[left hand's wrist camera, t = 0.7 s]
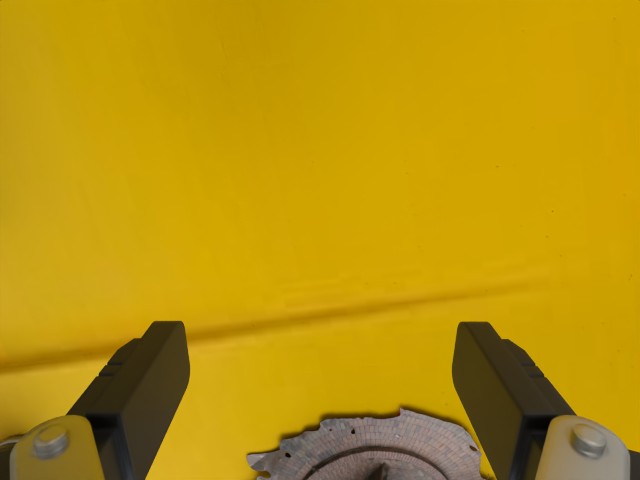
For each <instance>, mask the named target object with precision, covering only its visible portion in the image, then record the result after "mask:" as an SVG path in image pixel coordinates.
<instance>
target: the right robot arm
mask: <svg viewBox="0 0 640 480" xmlns="http://www.w3.org/2000/svg"><path fill="white" fill-rule="evenodd" d="M22 437H23V436H13V437H9V438H7V439H5V440H3V441H1V442H0V452H2V451H6V450H10V449H13V448H14V446H15V444H16V443H17V442H18V441H19V440H20V439H21V438H22Z"/></svg>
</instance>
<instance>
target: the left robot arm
mask: <svg viewBox="0 0 640 480" xmlns="http://www.w3.org/2000/svg"><path fill="white" fill-rule="evenodd" d="M189 377H190V363H189V355H188V348H187V341H186V334H185V327H184V324H183V322H182V321H154V322H153V323H152V324H151V325H150V327H149V328H148V330H147V331H146V332H145V334H144V335H143V336H142V338H134V339H133V340H131V341H130V342H128V343H127V344H125V345H124V346H122V347H121V348H120V349H118V350H117V351H116V353H115V354H114V355H113V356H112V358H111V359H110V360H109V361H108V364H107V365H105V366H104V368H103V369H102V370H101V371H100V373H99V376H96V378H95V379H94V380H93V381H92V383H91V384H90V385H89V386H88V388H87V389H86V390H85V391H84V393H83V394H82V395H81V397H80V398H79V399H78V400H77V402H76V403H75V404H74V405H73V407H72V408H71V409H70V410H69V412H68V413H67V414H66V415H65V416H60V417H56V418H53V419H51V420H48V421H46V422H44V423H42V424H40V425H38V426H36V427H35V428H33V429H31V430H30V431H29V432H27V433H26V434H25V435H24V436H23V437H22V438H21V439H20V440H19V441H18V442H17V443H16V444H15V446H14V448H13V449H10V450H6V451H2V452H0V480H145V478H146V476H147V474H148V472H149V469H150V467H151V465H152V463H153V461H154V459H155V456H156V454H157V452H158V450H159V448H160V445H161V443H162V441H163V439H164V437H165V434H166V432H167V430H168V428H169V426H170V424H171V421H172V419H173V417H174V415H175V413H176V410H177V408H178V406H179V404H180V402H181V399H182V397H183V395H184V393H185V391H186V388H187V386H188V382H189ZM452 377H453V383H454V387H455V389H456V391H457V394H458V396H459V398H460V400H461V402H462V404H463V407H464V409H465V411H466V413H467V415H468V417H469V420H470V422H471V424H472V426H473V428H474V430H475V433H476V435H477V437H478V439H479V441H480V443H481V445H482V448H483V450H484V452H485V454H486V456H487V458H488V461H489V463H490V465H491V467H492V469H493V471H494V474H495V476H496V478H497V480H640V453H639V452H635V451H631V450H628V449H627V448H626V446H625V444H624V443H623V442H622V441H621V440H620V439H619V438H618V437H617V436H616V435H615V434H614V433H613V432H611V431H610V430H609V429H607V428H605V427H604V426H602V425H600V424H598V423H596V422H594V421H592V420H589V419H587V418H584V417H580V416H577V415H576V414H575V412H574V411H573V410H572V409H571V407H570V406H569V405H568V404H567V402H566V401H565V400H564V399H563V398H562V396H561V395H560V394H559V393H558V391H557V390H556V389H555V388H554V386H553V385H552V384H551V383H550V381H549V380H548V379H547V378H546V377H544V374H543V373H542V371H541V370H540V369H539V368H538V366H535V363H534V362H533V360H532V359H531V358H530V357H529V355H528V354H527V353H526V352H525V350H523V349H522V348H520V347H519V346H517V345H516V344H514V343H513V342H512V341H510V340H509V339H501V338H500V336H499V335H498V334H497V332H496V331H495V330H494V328H493V327H492V326H491V324H490V323H488V322H460V323H459V325H458V328H457V335H456V342H455V349H454V356H453V363H452Z"/></svg>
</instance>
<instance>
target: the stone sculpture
mask: <svg viewBox="0 0 640 480" xmlns="http://www.w3.org/2000/svg"><path fill="white" fill-rule="evenodd" d="M400 412H401V415H400V416H398V417H395V418H390V419H373V418H372V417H370V418H368V417H364V419H360V418H359V417H358V418H355V419H351V418H350V419H343V418H341V419H335V418H334V419H326V420H324V421H322V422H320V426H321V427H320V429H319V430H318V431H305V432H303V433H302V434H301V435H299V436H296V437H293V438H290V439H285V440H282V441H281V442H280V444H279V447H280V450H278V451H275V452H270V453H264V454H252V455H248V456H247V461H248V463H249V465H250V467H251V468H252V469H254V470H256V471H268V472H269V473H270V475H271V477H270V478H264V477H262V476H259V477H257V479H256V480H486V479H483V478H482V477H481V475H480V473H479V470H480V462H481V459H480V456H481V455H482V453H481V452H480V451H479V449H478V447H477V445H476V444H475V442H474V441H473V439H472V438H471V435H470V434H469V433H468V432H467V431H465V430H464V428H463V427H460V426H459V425H456V424H453V423H449V422H444V421H443V420H439V419H436V418H432V417H429V416H426V415H422V414H419V413H418V414H416V413H415V412H412V411H409V410H406V411H404V409H402V408H400ZM330 429H332V431H329V430H330ZM352 429H354V430H355V434H351V431H352ZM469 446H473V447H475V448H476V449H477V451H473V450H471V449H470V447H469ZM286 452H288V453H289V454H290V455H291V457H290V458H287V457H285V454H286ZM488 475H489V474H488ZM487 479H489V478H487Z"/></svg>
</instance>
